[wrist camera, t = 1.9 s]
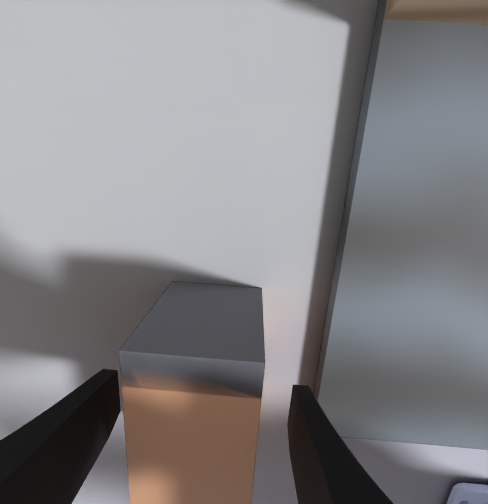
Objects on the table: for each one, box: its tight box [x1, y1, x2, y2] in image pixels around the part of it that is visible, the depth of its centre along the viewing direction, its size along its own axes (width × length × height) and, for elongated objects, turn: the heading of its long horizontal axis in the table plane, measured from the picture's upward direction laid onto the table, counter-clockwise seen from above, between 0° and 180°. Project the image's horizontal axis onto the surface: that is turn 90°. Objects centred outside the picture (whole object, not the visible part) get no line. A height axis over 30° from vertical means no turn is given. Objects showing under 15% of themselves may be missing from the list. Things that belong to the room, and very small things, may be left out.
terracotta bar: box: [119, 281, 265, 504], centre depth 11 cm, size 8×4×5 cm, turn 176°
